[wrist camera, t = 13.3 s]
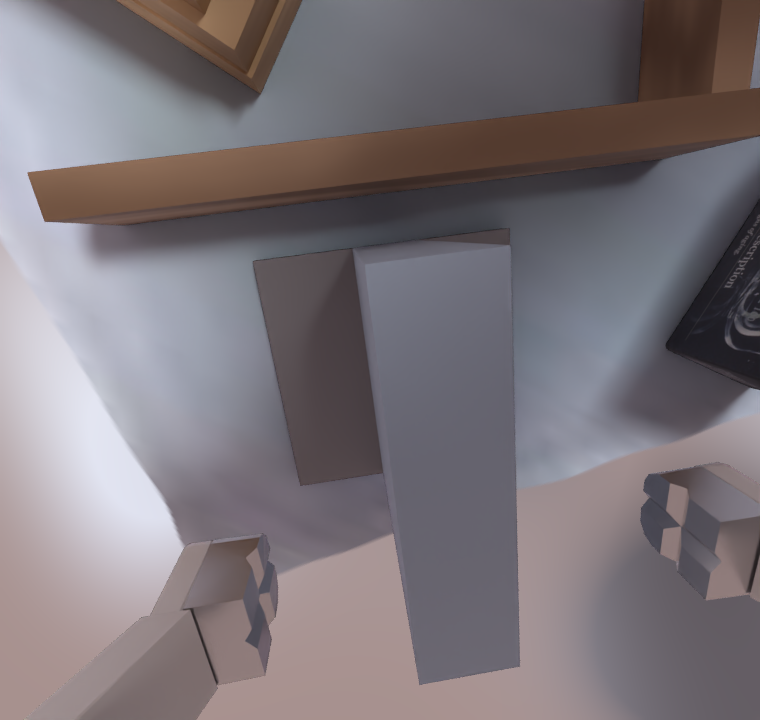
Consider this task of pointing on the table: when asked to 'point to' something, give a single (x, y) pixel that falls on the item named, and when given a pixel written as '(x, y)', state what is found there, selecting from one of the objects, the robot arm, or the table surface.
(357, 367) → the charcoal mat
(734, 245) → the small box
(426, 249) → the gray block
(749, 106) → the walnut rack
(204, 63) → the table surface
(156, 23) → the offcut stack
